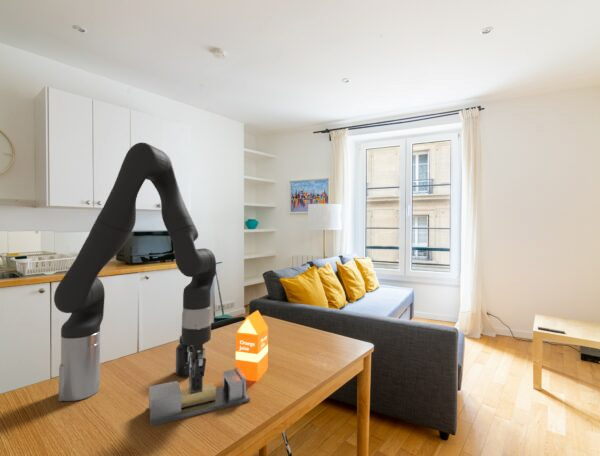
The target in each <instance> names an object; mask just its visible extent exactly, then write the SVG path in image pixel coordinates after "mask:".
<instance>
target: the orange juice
mask: <svg viewBox="0 0 600 456" xmlns="http://www.w3.org/2000/svg"><path fill="white" fill-rule="evenodd" d="M268 352H269V326H268V325H267V323H266V322H265V320H264V318H263V317H262V314H261V313H260V311H259V310H255V311H254V312H252V313H251V314H250V315H248V316H247V317H246V318H245V319H244V321H243V322H242V324H241V325H240V326H239V328H238V329H237V331H236V332H235V367H238V368H239V369H240V370H241V372H242V373H243V374H244V376H245V377H246V381H250V382H251V381H253V382H258V381H259V380H260V379H261V378H262V376H264V374H265V373H266V371H268V363H269V362H268V358H269V357H268V355H269V354H268Z"/></svg>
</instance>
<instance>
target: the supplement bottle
mask: <svg viewBox="0 0 600 456" xmlns="http://www.w3.org/2000/svg"><path fill="white" fill-rule="evenodd" d="M178 342H179V344H177V346H176V347H175V366H174V368H175V375H176V376H178V377H182V378H183V377H184V378H185V377H189V364H188V351H187V350H188V346H187V345H186V344H184V343H183V342H182V335H180V336H179V341H178Z"/></svg>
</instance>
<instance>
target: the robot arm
mask: <svg viewBox="0 0 600 456" xmlns="http://www.w3.org/2000/svg"><path fill="white" fill-rule="evenodd" d="M146 180H148V181H150V182H151V183H152V184H153V187H154V188H155V190H156V191H157V193H158V195H159V199H160V207H161V208H160V209H161V210H160V211H161V219H162V222H163V224H164V226H165V228H166V231H167V233H168V235H169V238H170V240H171V242H172V248H173V254H174V259H175V265H176V266H177V269H178V270H179V271H180V273H181V274H182V275H183V276H185V277H188V278H191V281H190V283H189V284H187V285H186V286H184V288H183V293H182V314H181V336H182V342H183V343H184V344H186V345H187V346H188V350H187V351H188V364H189V366H190V367H191V368H192V376H193V385H192V389H193V391H198V390H201V387H202V377H204V376H205V371H206V364H207V358H206V357H205V356H206V349H205V348H204V344H206V343H208V342H209V341H211V338H212V311H211V310H212V309H211V289H212V286H213V283H214V279H215V274H216V269H217V260H216V256H215V254H214V253H213V251H212V250H211V249H208V248H196V245H195V241H196V240H197V239H198V237H199V232H198V230H197V229H198V228H197V227H196V225H195V223H194V221H193V219H192V217H191V215H190V212H189V211H188V208H187V207H186V206H187V205H186V203H185V201H184V199H183V197H182V194H181V191H180V187H179V185H178V181H177V177H176V175H175V171H174V167H173V164H172V161H171V159H170V157H169V155H168V154H167V153H165V152H164V151H163V150H161V149H159V148H157V147H155V146H153V145H152V144H149V143H146V142H138V143H135V144H133V145H132V146H131V147H130V148H129V149H128V150H127V152H126V154H125V156H124V158H123V161H122V163H121V166H120V169H119V171H118V173H117V177H116V178H115V181H114V183H113V187H112V189H110V190H111V191H110V192H109V194H108V197H107V199H106V200H105V203H104V205H103V207H102V209H101V211H100V212H99V213H98V215H97V218H96V219H95V221H94V223H93V225H92V227H91V229H90V231H89V233H88V235H87V237H86V238H85V240H84V242H83V244H82V246H81V249H80V250H79V252H78V254H77V256H76V257H75V259H74V261H73V263H72V264H71V266H70V267H69V268H68V270H67V271H66V273H65V274H64V276H63V277H62V279H61V281H60V282H59V283H58V285H57V286H56V289H55V291H54V296H53V301H54V306H55V307H56V309H57V310H58V311H60V312H61V313H64V314H70V315H69V318H68V319H67V320H66V321H65V322H64V323H63V324H62V326H61V328H60V364H59V366H58V402H63V401H65V402H75V401H80V400H86V399H88V398H90V397H91V396H94V395H95V394H96V393H99V390H100V385H101V384H100V377H101V376H100V375H101V374H100V373H101V371H100V368H101V366H100V365H101V364H100V363H101V362H100V361H101V355H100V354H101V347H100V346H101V324H102V321H103V319H104V313H105V299H106V297H105V288H104V284H103V282H102V281H101V279H100V278H99V277H98V275H99V274H100V273H101V271H102V269H103V268H104V267H106V265H107V264H108V263H109V262H110V261H111V260H112V259H113V258H114V257H115V256H116V255H117V254H118V253H119V252H120V251H121V250H122V249H123V247H124V246H125V244H126V243H127V241H128V240H129V238H130V235H131V233H132V232H133V230H134V227H135V226H136V220H137V219H136V218H137V209H136V205H137V204H136V203H137V198H138V194H139V192H140V190H141V188H142V186H143V184H144V182H145V181H146ZM198 371H199V372H198Z"/></svg>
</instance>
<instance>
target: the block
mask: <svg viewBox="0 0 600 456" xmlns="http://www.w3.org/2000/svg"><path fill="white" fill-rule="evenodd" d="M198 372H199V371H198ZM203 377H204V376H203ZM203 377H202V387H201V390H198V391H193V389H192V385H193V376H192V368H191V367H190V366H189V376H188V387H187V388H180V390H181V408H183V407H187V406H191V405H195V404H199V403H204V402H208V401H212V400H216V389H217V387H216V386H215V384H214V382H209V383H205V384H203V381H204V380H203V379H204V378H203ZM150 410H151V400H150Z"/></svg>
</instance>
